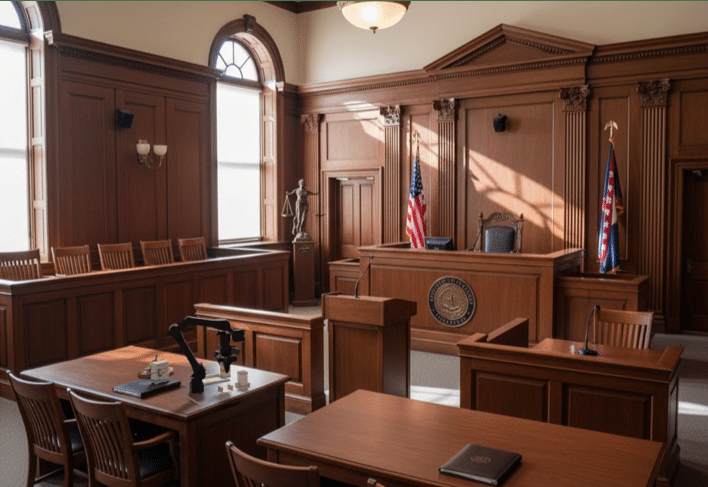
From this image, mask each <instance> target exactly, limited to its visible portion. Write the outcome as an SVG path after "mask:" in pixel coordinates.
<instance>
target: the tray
mask: <svg viewBox="0 0 708 487" xmlns="http://www.w3.org/2000/svg"><path fill="white" fill-rule="evenodd" d="M202 381H203V384H204V386H208V385H213V384H218V383H225V382H230V381H231V378H224V379H223V378H221V377H220V372H219V373H212V374H211V373H210V374H206V377H205V378H204V379H203V380H202Z"/></svg>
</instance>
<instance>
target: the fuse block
mask: <svg viewBox="0 0 708 487" xmlns="http://www.w3.org/2000/svg"><path fill="white" fill-rule="evenodd" d="M249 388H253V386H252V385H251V382H249V381H248V387H243V388H241V384H239V383H238V382H237V381H236V382H234V385H232V384H230V383H227V386H221V385H217V388H215V390H216V391H218V392H220V393H222V394H223V393H228V392H233V391H240V390H243V389H249Z"/></svg>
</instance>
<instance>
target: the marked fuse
mask: <svg viewBox="0 0 708 487" xmlns="http://www.w3.org/2000/svg"><path fill="white" fill-rule="evenodd" d="M219 374H220V377H221V378H223V379H222V380H224V378H229V379H231V377H232V374H231V367H230V369H229V372H228V373H226V372H225V369H224V366H223V363H222V362H220V365H219Z"/></svg>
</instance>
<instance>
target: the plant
mask: <svg viewBox="0 0 708 487" xmlns="http://www.w3.org/2000/svg"><path fill="white" fill-rule="evenodd" d="M158 357H159V355H158V354H155V359H152V360H151V362H149V365H147V367H143V368H142V369H141V370H139V371H138V372H137V377H139V378H141V379H147V378H146V377H150V376H151V363H152V362H156V361H160V360H165V359H164V358H162V359H160V360H158ZM174 369H175V368H174V367H173V366H169V377H170V376H171V375H174V374H175V373H174V372H175V371H174Z"/></svg>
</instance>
